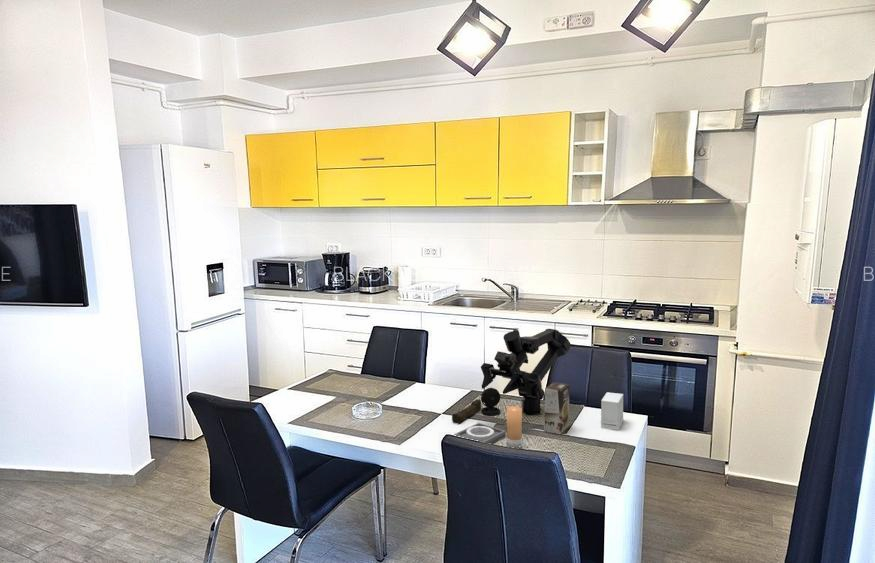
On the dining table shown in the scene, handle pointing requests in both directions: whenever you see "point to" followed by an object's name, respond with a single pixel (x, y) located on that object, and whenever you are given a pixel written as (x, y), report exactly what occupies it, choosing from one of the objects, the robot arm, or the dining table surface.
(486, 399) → the webcam
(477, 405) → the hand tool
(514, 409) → the peach bulb knob
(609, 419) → the skincare box
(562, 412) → the coffee box
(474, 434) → the housing
